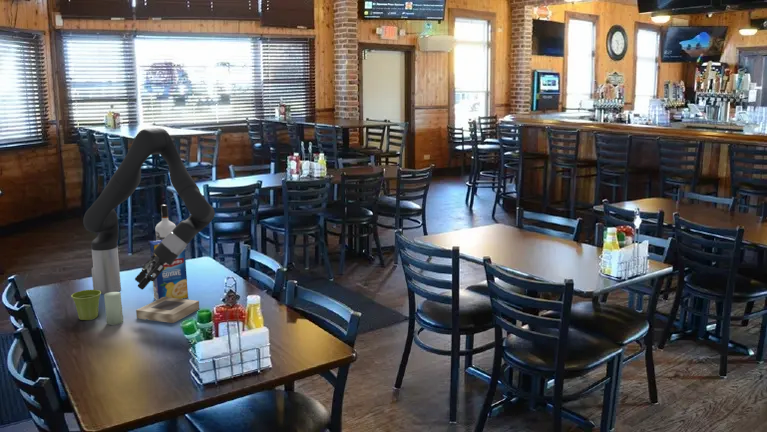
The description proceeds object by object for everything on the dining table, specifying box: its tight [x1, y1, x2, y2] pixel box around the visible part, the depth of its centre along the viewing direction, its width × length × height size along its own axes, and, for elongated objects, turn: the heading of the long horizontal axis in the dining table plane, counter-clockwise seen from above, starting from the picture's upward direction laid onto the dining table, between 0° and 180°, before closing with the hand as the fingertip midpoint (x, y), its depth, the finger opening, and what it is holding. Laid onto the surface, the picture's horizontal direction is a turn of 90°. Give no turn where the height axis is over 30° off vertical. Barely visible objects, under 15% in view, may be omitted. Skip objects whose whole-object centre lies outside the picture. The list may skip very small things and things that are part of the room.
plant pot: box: [71, 289, 101, 321], centre depth 231 cm, size 9×9×9 cm
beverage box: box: [149, 239, 189, 301], centre depth 251 cm, size 7×11×22 cm, turn 123°
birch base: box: [135, 297, 200, 324], centre depth 235 cm, size 15×15×3 cm
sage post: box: [103, 291, 124, 326], centre depth 227 cm, size 5×5×10 cm
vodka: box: [154, 204, 177, 240], centre depth 280 cm, size 9×9×30 cm
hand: (138, 284), depth 229 cm, fingers open, 8 cm apart
